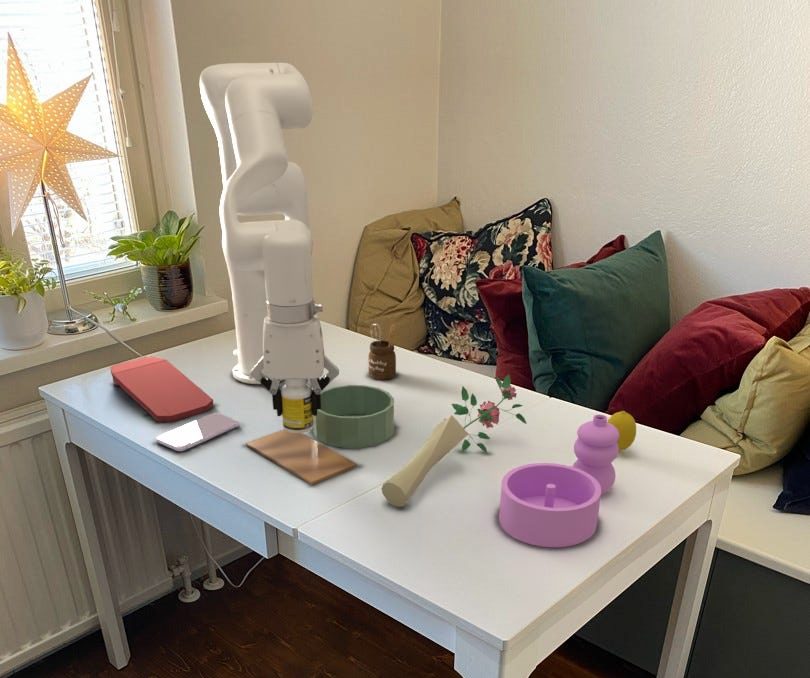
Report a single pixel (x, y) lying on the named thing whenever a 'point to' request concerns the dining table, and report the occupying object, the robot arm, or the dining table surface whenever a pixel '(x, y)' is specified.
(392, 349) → the utensil holder
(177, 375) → the red wedge block
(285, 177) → the robot arm
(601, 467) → the container set
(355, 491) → the dining table surface
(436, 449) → the flower vase
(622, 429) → the lemon
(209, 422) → the mobile phone
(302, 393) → the supplement bottle
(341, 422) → the bowl
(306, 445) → the wooden board
